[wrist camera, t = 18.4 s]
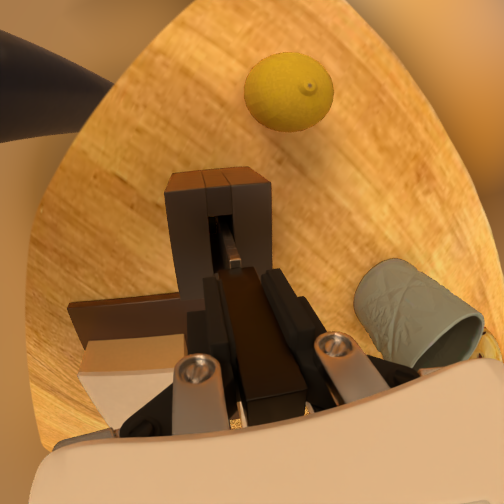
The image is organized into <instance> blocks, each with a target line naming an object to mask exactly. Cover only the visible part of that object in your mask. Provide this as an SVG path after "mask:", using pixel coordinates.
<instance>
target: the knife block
mask: <svg viewBox="0 0 504 504" xmlns="http://www.w3.org/2000/svg"><path fill="white" fill-rule="evenodd" d="M164 197H165V205H166V213H167V221H168V228H169V235H170V242H171V248H172V254H173V261H174V267H175V273H176V278H177V284H178V289H179V295H180V300H181V301H185V300H194V299H203V298H204V290H203V279H202V278H205V277H213V276H216V279H217V280H219V279H218V271H219V270H224V267H223V263H222V259H221V254H220V250H219V246H218V241H217V233H214V234H209V223H208V217H211V216H221V215H225V218H226V221H227V223H228V226H229V229H230V231H231V234H232V237H233V239H234V242H235V245H236V248H237V250H238V253H239V256H240V258H241V268H243V267H252V266H254V268H255V270H256V272H257V274H258V277H259V279H260V281H261V274H265V272H266V270H271V269H272V194H271V182H270V181H268V180H267V179H265V178H264V177H262V176H261V175H260V174H258V173H257V172H255V171H254V170H252V169H251V168H250V167H248V166H247V167H233V168H221V169H209V170H202V171H201V170H198V171H189V172H180V173H172V175H171V177H170V180H169V182H168V185H167V187H166V189H165V192H164Z"/></svg>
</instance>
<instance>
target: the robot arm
mask: <svg viewBox="0 0 504 504" xmlns="http://www.w3.org/2000/svg"><path fill="white" fill-rule="evenodd" d="M202 279H203V290H204V300H205V310H200V311H191V312H187V348H188V356H185V357H183V358H182V359H180V360H179V361H178V362H177V364H176V365H175V367H174V372H173V383H172V384H170V385H169V386H168V387H167V388H165V389H164V390H163V391H162V392H161V393H159V394H158V395H157V396H156V397H154V398H153V399H152V400H151V401H149V402H148V403H147V404H146V405H144V406H143V407H142V408H141V409H139V410H138V411H137V412H135V413H134V414H133V415H132V416H130V417H129V418H128V419H127V420H126V421H125V422H124V423H123V424H122V426H121V428H119V429H115V430H114V429H113V428H112V427H111V428H107V429H104V430H100V431H96V432H93V433H89V434H85V435H81V436H77V437H73V438H68V439H64V440H62V441H60V442H58V443H57V444H56V445H55V446H54V448H53V451H52V452H51V453H50V454H48V455H47V456H46V457H45V458H44V459H43V461H42V462H41V464H40V465H39V468H38V470H37V472H36V475H35V478H34V481H33V485H32V488H31V493H30V497H29V503H28V504H504V364H503V363H502V362H500V361H498V360H496V359H491V358H476V359H470V360H465V361H460V362H457V363H454V364H451V365H448V366H446V367H435V368H423V369H419V370H418V372H417V371H415V370H414V369H413V368H410V367H408V366H405V365H401V364H397V363H394V362H390V361H387V360H383V359H380V358H376V357H373V356H370V355H366V354H365V353H364V352H363V350H362V349H361V348H360V346H359V345H358V344H357V342H356V341H355V340H354V339H353V338H352V337H351V336H349V335H347V334H345V333H342V332H335V331H332V332H327V331H326V329H325V328H324V326H323V324H322V323H321V321H320V320H319V318H318V317H317V315H316V313H315V312H314V310H313V309H312V307H311V306H310V304H309V302H308V301H307V299H306V298H305V297H304V296H301V297H297V296H296V294H295V293H294V291H293V289H292V288H291V286H290V284H289V283H288V281H287V279H286V278H285V276H284V274H283V273H282V271H281V269H280V268H279V269H271V270H266V272H265V274H261V285H262V287H263V289H264V292H265V294H266V296H267V298H268V301H269V303H270V305H271V308H272V310H273V312H274V314H275V317H276V319H277V321H278V323H279V326H280V328H281V330H282V332H283V335H284V337H285V339H286V341H287V344H288V346H289V348H291V351H292V353H293V355H294V357H295V359H296V362H297V364H298V366H299V368H300V371H301V373H302V375H303V377H304V380H305V382H306V384H307V386H308V394H307V401H306V407H307V409H308V411H309V414H308V415H304V416H300V417H296V418H292V419H287V420H282V421H278V422H273V423H268V424H262V425H257V426H251V427H245V428H239V429H232V430H231V425H230V418H231V417H232V416H233V415H234V414H235V413H236V412H237V411H238V407H237V402H241V398H240V394H239V385H238V376H237V367H236V356H237V352H236V344H235V338H234V333H233V329H232V324H231V320H230V315H229V311H228V306H227V301H226V297H225V292H224V287H223V283H222V279H219V280H217V279H216V276H213V277H205V278H202Z"/></svg>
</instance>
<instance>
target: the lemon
mask: <svg viewBox="0 0 504 504" xmlns="http://www.w3.org/2000/svg"><path fill="white" fill-rule="evenodd" d="M333 96H334V89H333V83H332V80H331V78H330V75H329V74H328V72H327V71H326V69H325V68H324V67H323V66H322V65H321V64H320V63H319V62H318V61H316V60H314V59H313V58H311V57H309V56H307V55H304V54H300V53H293V52H283V53H278V54H274V55H271V56H269V57H267V58H265V59H263V60H261V61H260V62H259V63H258V64H257V65H255V66H254V67H253V68H252V70H251V71H250V73H249V75H248V76H247V79H246V82H245V86H244V99H245V102H246V106H247V108H248V110H249V111H250V113H251V115H252V116H253V117H254V118H255V119H256V120H257V121H258V122H259V123H261V124H262V125H264V126H265V127H267V128H270V129H272V130H275V131H279V132H289V133H290V132H297V131H302V130H305V129H307V128H310V127H312V126H314V125H315V124H317V123H318V122H319V121H320V120H322V119H323V118H324V117H325V115H326V114H327V113H328V111H329V109H330V107H331V104H332V102H333Z"/></svg>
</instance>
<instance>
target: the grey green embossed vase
mask: <svg viewBox="0 0 504 504" xmlns="http://www.w3.org/2000/svg"><path fill="white" fill-rule="evenodd" d="M354 310H355V313H356V315H357V317H358V319H359V320H360V322H361V323H362V325H363V327H364V328H365V330H366V331H367V332H368V333H369V336H370V338H371V339H372V341H373V343H374V345H375V346H376V348H377V350H378V351H379V352H381V353H382V355H383V359H384V360H387V361H390V362H394V363H397V364H401V365H405V366H408V367H410V368H413V369H414V370H415V371H417V372H418V370H419V369H423V368H435V367H446V366H448V365H451V364H454V363H457V362H460V361H465V360H469V358H470V357H471V355H472V354H473V352H474V350H475V349H476V347H477V345H478V343H479V341H480V339H481V337H482V334H483V330H484V317H483V315H482V314H481V313H480V312H478V311H477V310H475V309H474V308H473V307H471V306H470V305H468V304H467V303H466V302H464V301H463V300H461V299H460V298H459V297H457V296H455V295H454V294H453V293H451V292H450V291H449V290H448V289H446V288H445V287H444V286H442V285H440V284H439V283H438V282H437V281H435V280H432V278H430V277H429V276H427V275H426V274H424V273H423V272H419V271H418V270H417V269H416V268H415V267H414V266H412V265H411V264H409V263H408V262H406V261H404V260H401V259H389V260H386V261H383V262H381V263H379V264H378V265H376V266H375V267H374V268H372V269H371V270H370V271H369V272H368V273H367V274H366V275H365V277H364V278H363V279H362V281H361V282H360V284H359V286H358V288H357V290H356V293H355V297H354Z"/></svg>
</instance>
